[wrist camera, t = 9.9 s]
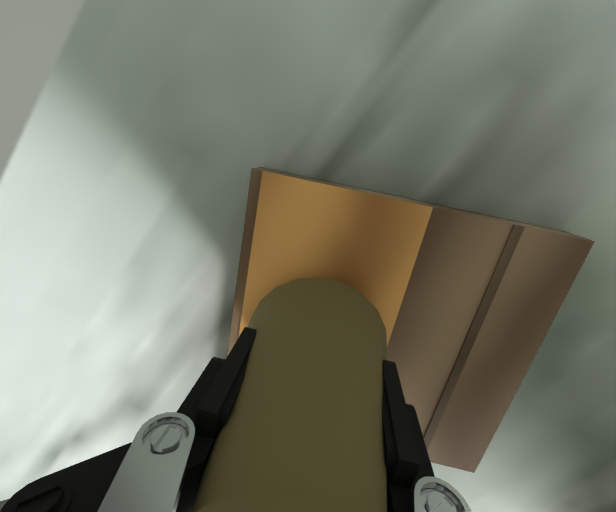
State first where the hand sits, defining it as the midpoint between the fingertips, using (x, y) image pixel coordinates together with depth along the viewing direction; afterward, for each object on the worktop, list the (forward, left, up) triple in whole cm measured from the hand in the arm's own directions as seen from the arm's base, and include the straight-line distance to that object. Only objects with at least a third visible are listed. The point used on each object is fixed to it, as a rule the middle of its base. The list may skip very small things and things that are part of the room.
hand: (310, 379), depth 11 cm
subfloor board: (-3, 0, -5) cm, 6 cm away
